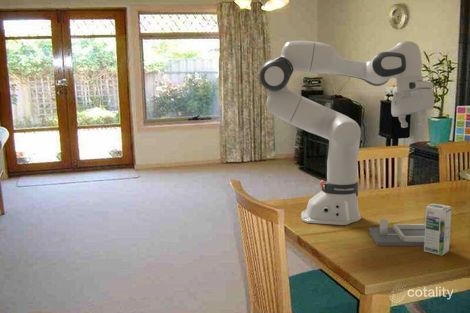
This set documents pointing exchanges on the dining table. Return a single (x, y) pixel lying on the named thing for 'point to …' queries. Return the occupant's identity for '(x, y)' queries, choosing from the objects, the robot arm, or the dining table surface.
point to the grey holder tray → (398, 234)
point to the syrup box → (437, 229)
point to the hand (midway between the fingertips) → (412, 126)
